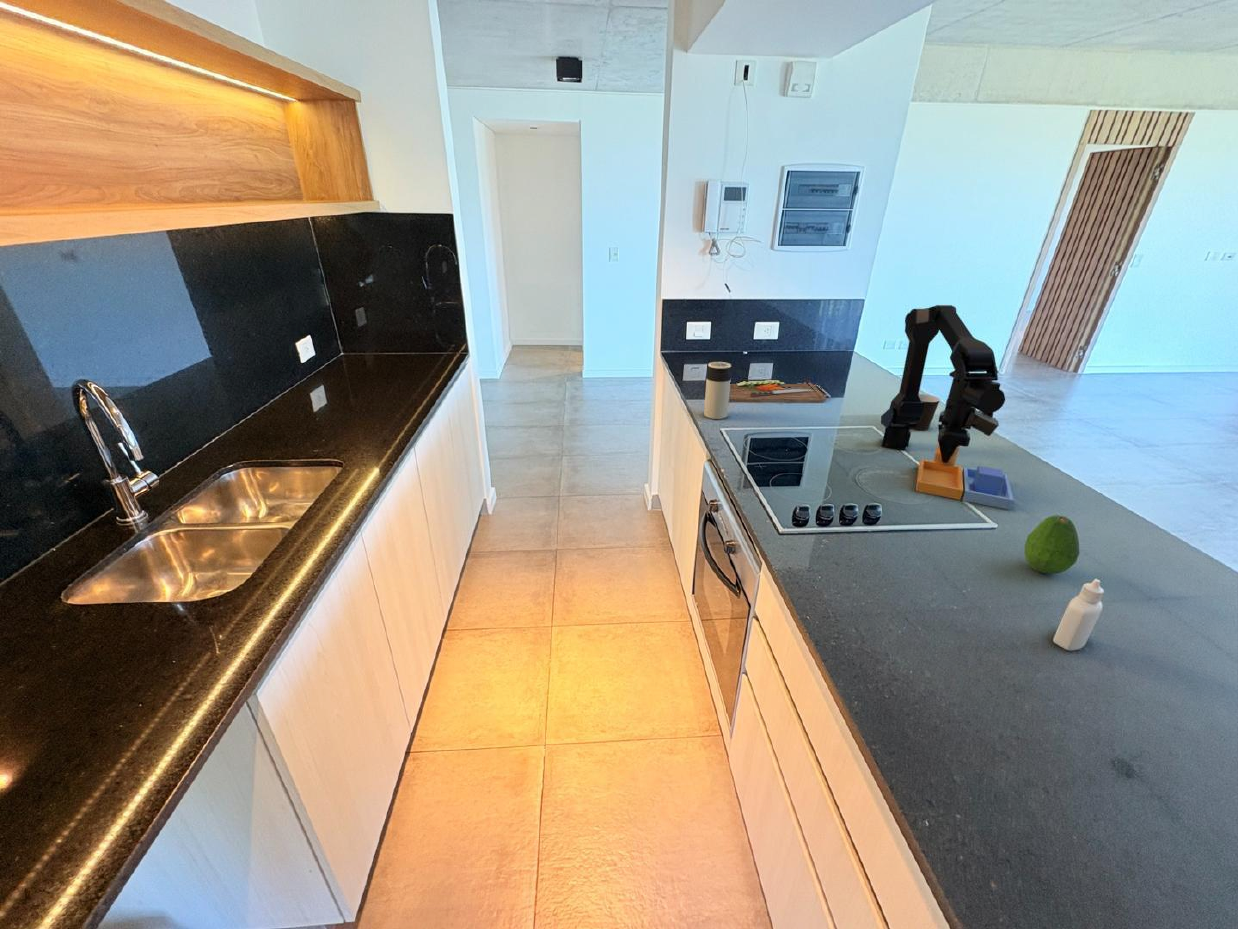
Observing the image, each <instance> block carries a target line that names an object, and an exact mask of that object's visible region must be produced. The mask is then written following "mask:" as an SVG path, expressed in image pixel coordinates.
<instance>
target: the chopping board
mask: <svg viewBox="0 0 1238 929" xmlns="http://www.w3.org/2000/svg"><path fill="white" fill-rule="evenodd" d="M810 382H811V381H809V383H808V384H809V385H810V386H809V385H808V384H807V383H806V382H804V383H803V384H802V383H797V384H785V383H784V382H780V381H779V380H765V381H748V382H746V381H743V382H740V383H736V384H730V393H729V403H800V404H801V403H803V404H805V403H807V404H809V403H811V404H812V403H813V404H815V403H816V404H818V403H819V404H820V403H825V402H827V397H828V399H829V398H832V396H831V395H830V394H829V393H828V392H827V391H826V390H825V389H823V388H822V387H821V386H820V385H819V384H818V385H819V386H818V385H816V384H813V383H812V382H811V383H810ZM782 387H785V388H782ZM788 387H791V388H788ZM811 387H812V388H813V389H814V390H813V389H812V388H811ZM820 387H821V388H822V389H821V388H820Z"/></svg>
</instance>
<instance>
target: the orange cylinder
mask: <svg viewBox="0 0 1238 929" xmlns="http://www.w3.org/2000/svg"><path fill="white" fill-rule="evenodd" d="M960 448H961V446H958V447H957V448H956V450H955V451H954V453H953V455H952V456H951V458H950V459H949V461H948V463H943V462H942V458H941V452H940V447H939V442H938V443H937V447H936V451H935V455H934V457H933V461H934V462H935V463H937V464H939V465H942V466H954V465H956V461H957V459H958V454H959V451H960Z"/></svg>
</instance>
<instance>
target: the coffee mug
mask: <svg viewBox="0 0 1238 929" xmlns="http://www.w3.org/2000/svg"><path fill="white" fill-rule="evenodd" d="M919 397H920V400H921V402H923V403H924V405H925V406H924V409H923V416H922V418H921V420H920V422H919V424H918V426H917V428H910V430H914V431H918V432H920V431H921V432H924V431H927V430H929V428H930V426H931V424H932V422H933V419H934V416H935V413H936V411H937V408H938V406H939V404H940V401H941V398H939V397H937V396H935V395H931V394H925V393H919Z"/></svg>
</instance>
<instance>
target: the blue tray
mask: <svg viewBox="0 0 1238 929" xmlns="http://www.w3.org/2000/svg"><path fill="white" fill-rule="evenodd" d="M976 471H977V468H972V467H968V466H967V467H966V466H963V467H962V477H963V493H962V496H961V500H962V501H964V502H969V503H973V504H978V505H984V506H989V507H992V508H993V507H994V508H998V509H1003V510H1008V511H1011V510H1012V507H1013V504H1014V501H1015V500H1014V496H1013V492H1012V488H1011V483H1010V479H1009V474H1005V473H1003V477H1004V478H1003V481H1002V484H1001V487H1000V490H999V493H998V496H996V495H990V494H985V493H980V492H975V491H973V481H974V478H975V474H976Z"/></svg>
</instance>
